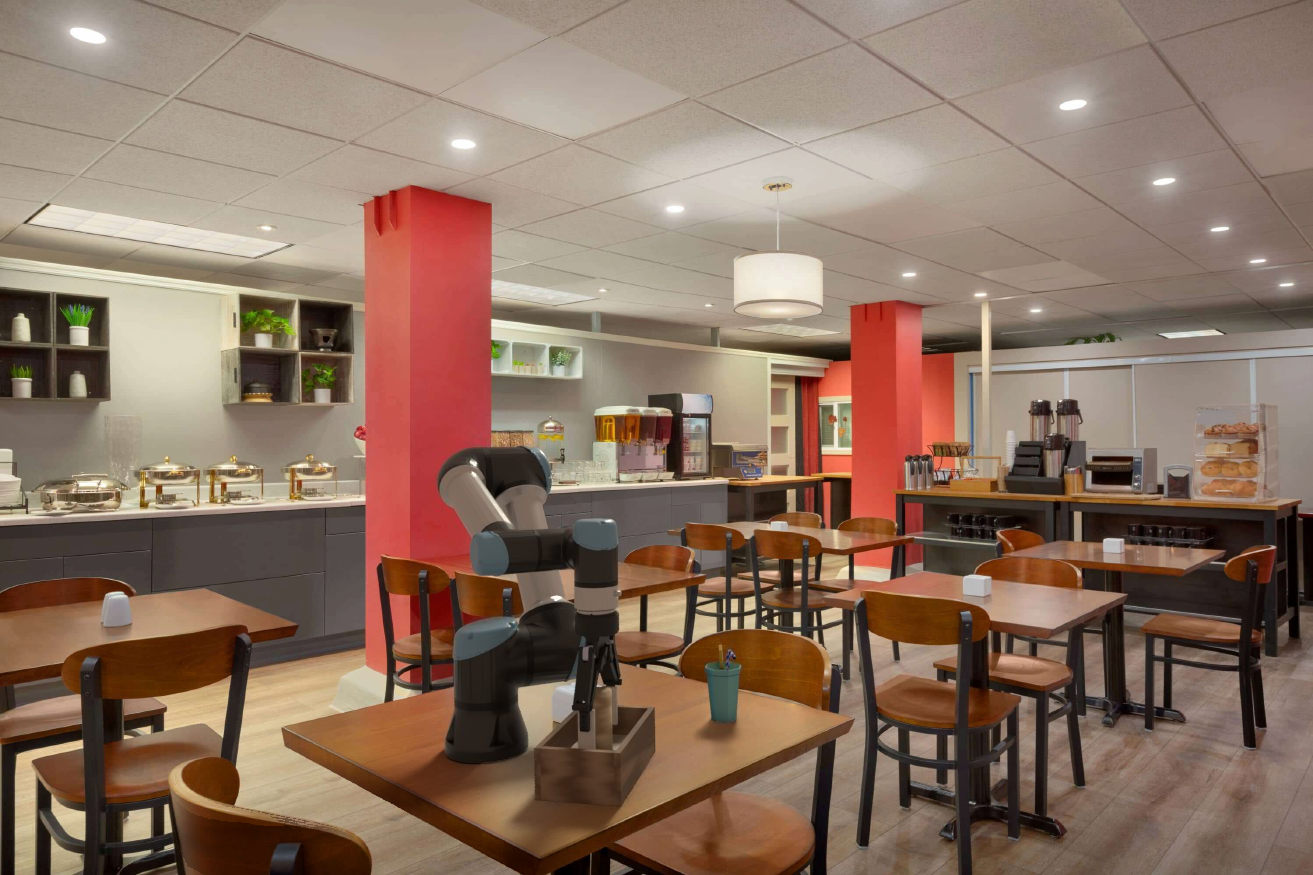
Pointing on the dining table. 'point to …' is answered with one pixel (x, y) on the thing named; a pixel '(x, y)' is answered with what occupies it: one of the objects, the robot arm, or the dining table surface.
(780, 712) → the dining table surface
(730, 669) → the cup
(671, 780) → the dining table surface
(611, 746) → the peg
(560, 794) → the crate
